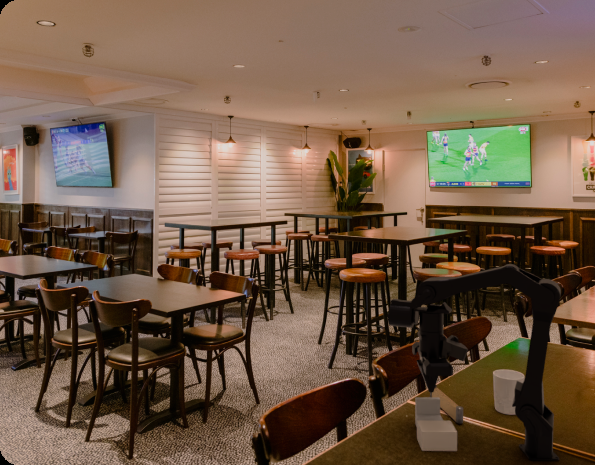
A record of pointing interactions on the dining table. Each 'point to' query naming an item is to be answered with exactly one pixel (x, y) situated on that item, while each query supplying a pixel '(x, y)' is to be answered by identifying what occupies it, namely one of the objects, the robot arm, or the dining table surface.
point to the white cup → (505, 389)
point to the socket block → (436, 435)
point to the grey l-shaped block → (427, 409)
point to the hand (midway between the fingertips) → (431, 391)
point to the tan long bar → (448, 405)
